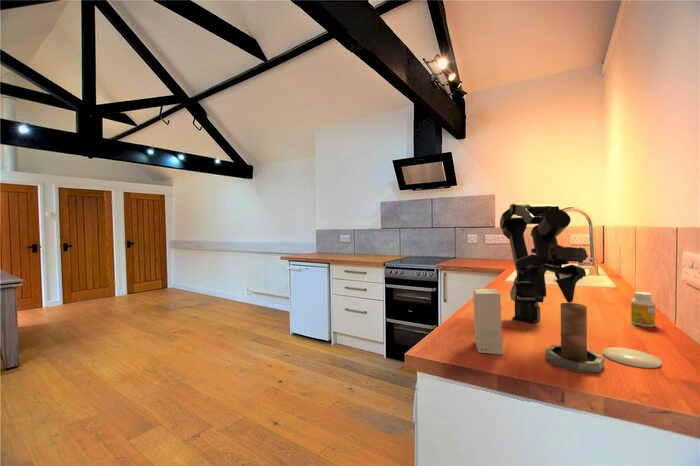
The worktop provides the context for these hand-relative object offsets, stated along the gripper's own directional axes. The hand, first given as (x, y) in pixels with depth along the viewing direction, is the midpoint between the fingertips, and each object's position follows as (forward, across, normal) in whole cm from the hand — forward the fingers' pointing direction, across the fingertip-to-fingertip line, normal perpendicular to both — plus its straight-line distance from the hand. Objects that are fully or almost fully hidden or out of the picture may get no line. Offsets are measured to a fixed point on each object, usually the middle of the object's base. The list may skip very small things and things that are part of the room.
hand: (557, 299), depth 80 cm
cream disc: (+13, +11, -7) cm, 18 cm away
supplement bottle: (+1, +42, +4) cm, 42 cm away
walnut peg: (+15, -3, -3) cm, 16 cm away
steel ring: (+15, -3, -3) cm, 16 cm away
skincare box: (+13, -15, +11) cm, 22 cm away
